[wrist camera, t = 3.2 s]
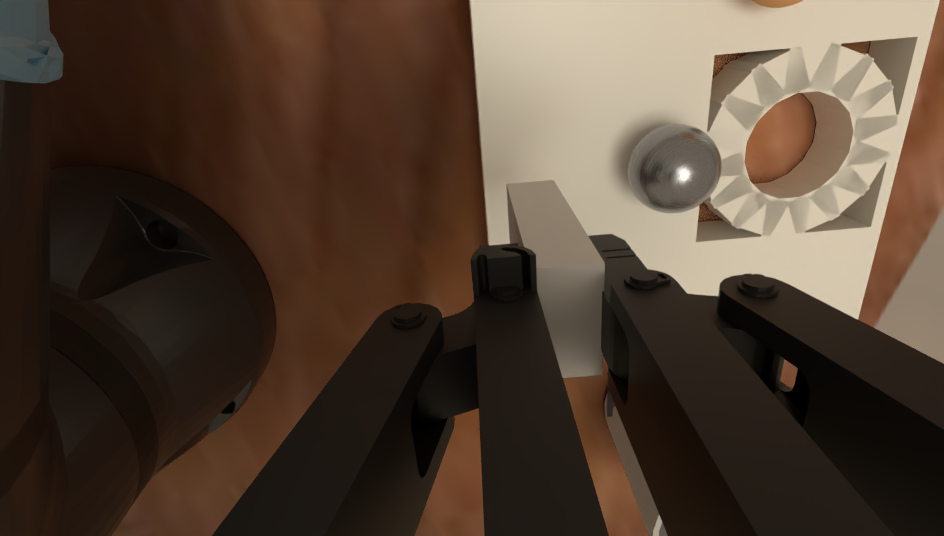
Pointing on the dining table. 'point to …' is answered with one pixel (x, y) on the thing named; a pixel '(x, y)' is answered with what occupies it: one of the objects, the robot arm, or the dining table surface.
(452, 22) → the dining table surface
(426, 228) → the dining table surface
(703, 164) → the ball
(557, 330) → the robot arm
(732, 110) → the board
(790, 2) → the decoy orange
